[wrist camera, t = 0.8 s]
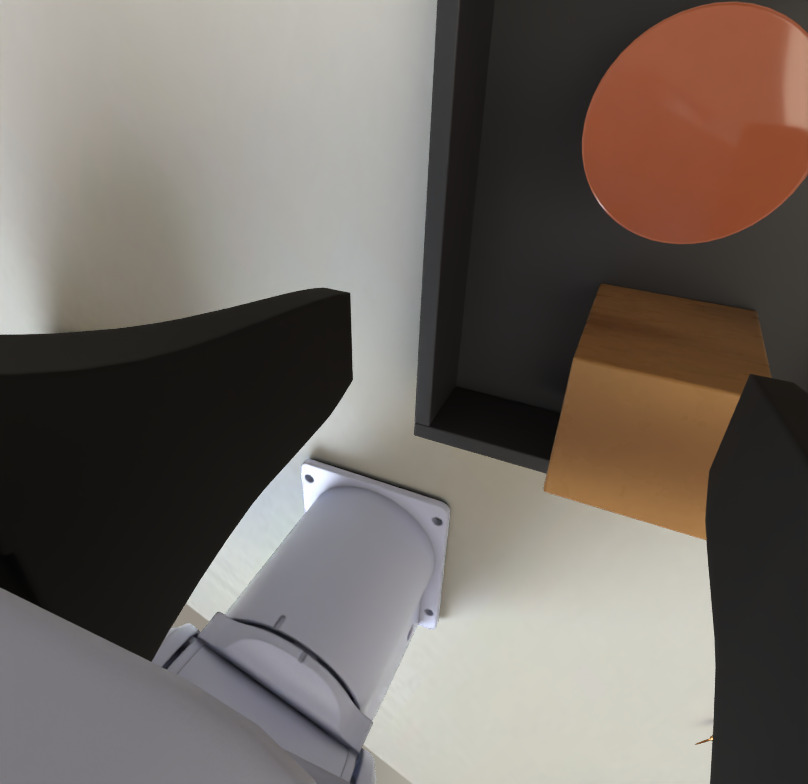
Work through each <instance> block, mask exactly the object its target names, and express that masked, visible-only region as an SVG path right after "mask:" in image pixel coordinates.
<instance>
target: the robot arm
mask: <svg viewBox="0 0 808 784" xmlns="http://www.w3.org/2000/svg"><path fill="white" fill-rule="evenodd" d="M352 380H353V371H352V337H351V303H350V293H348V292H343V291H338V290H333V289H328V288H313V289H307V290H301V291H296V292H292V293H287V294H283V295H279V296H275V297H271V298H267V299H263V300H259V301H255V302H251V303H247V304H243V305H239V306H235V307H231V308H227V309H222V310H218V311H213V312H209V313H204V314H200V315H195V316H191V317H186V318H182V319H176V320H171V321H166V322H160V323H154V324H147V325H140V326H133V327H126V328H117V329H107V330H94V331H82V332H69V333H56V334H27V335H0V784H377V780H376V774H375V761H374V757H373V756H372V754H371V753H370V752H368V751H366V750H364V749H362V746H363V744H364V742H365V740H366V737H367V735H368V733H369V731H370V729H371V727H372V724H373V722H372V720H373V719H374V717H375V715H376V714H377V712H378V710H379V708H380V706H381V703H382V701H383V699H384V697H385V695H386V692H387V690H388V688H389V686H390V684H391V682H392V679H393V677H394V675H395V673H396V671H397V669H398V666H399V664H400V662H401V660H402V658H403V656H404V653H405V651H406V649H407V647H408V645H409V643H410V640H411V638H412V636H413V634H414V632H415V629H416V627H417V625H420V626H423V627H425V628H428V629H435V628H436V626H437V624H438V621H439V611H440V602H441V593H442V584H443V575H444V566H445V557H446V548H447V538H448V529H449V520H450V509H449V507H448V506H447V505H446V504H445V503H443V502H441V501H438V500H435V499H432V498H429V497H426V496H423V495H420V494H417V493H413V492H410V491H407V490H404V489H401V488H398V487H395V486H392V485H389V484H386V483H383V482H379V481H376V480H373V479H370V478H367V477H364V476H361V475H358V474H355V473H352V472H349V471H345V470H342V469H339V468H336V467H333V466H330V465H327V464H324V463H321V462H318V461H315V460H311V459H307V460H305V461H304V463H303V464H302V465H301V476H302V487H303V498H304V509H305V514H304V515H303V517H302V518H301V519H300V520H299V522H298V523H297V524H296V525H295V527H294V528H293V529H292V530H291V532H290V533H289V534H288V535H287V537H286V538H285V539H284V540H283V542H282V543H281V544H280V546H279V547H278V548H277V549H276V551H275V552H274V553H273V554H272V556H271V557H270V558H269V559H268V561H267V562H266V563H265V564H264V566H263V567H262V568H261V569H260V571H259V572H258V573H257V574H256V576H255V577H254V578H253V579H252V581H251V582H250V583H249V585H248V586H247V587H246V588H245V590H244V591H243V592H242V593H241V595H240V596H239V597H238V598H237V600H236V601H235V602H234V603H233V605H232V606H231V607H230V608H229V610H228V611H227V612H226V613H225V615H224V614H223V613H221V612H217V613H216V614H215V615H214V617H213V618H212V619H211V620H210V621H209V623H208V624H207V625H206V626H205V628H204V629H203V630H202V631H201V632H200V631H199V630H198V629H197V628H196V627H194V626H193V625H192V624H189V623H187V624H184V625H182V626H180V627H175V628H171V626H172V625H173V623H174V622H175V620H176V618H177V617H178V615H179V613H180V612H181V610H182V609H183V607H184V605H185V604H186V602H187V600H188V599H189V597H190V596H191V594H192V592H193V591H194V589H195V587H196V586H197V584H198V582H199V581H200V579H201V578H202V576H203V575H204V573H205V572H206V570H207V569H208V567H209V566H210V564H211V563H212V561H213V560H214V558H215V557H216V555H217V554H218V552H219V551H220V549H221V548H222V546H223V545H224V543H225V542H226V540H227V539H228V537H229V536H230V534H231V533H232V532H233V530H234V529H235V527H236V526H237V525H238V523H239V522H240V520H241V519H242V518H243V516H244V515H245V513H246V512H247V511H248V509H249V508H250V506H251V505H252V504H253V502H254V501H255V500H256V499H257V498H258V496H259V495H260V494H261V493H262V491H263V490H264V489H265V488H266V487H267V485H268V484H269V483H270V482H271V481H272V480H273V479H274V478H275V477H276V476H277V474H278V473H279V472H280V471H281V470H282V469H283V468H284V467H285V466H286V464H287V463H288V462H289V461H290V460H291V459H292V458H293V457H294V456H295V455H296V453H297V452H298V451H299V450H300V449H301V448H302V447H303V446H304V445H305V443H306V442H307V441H308V440H309V439H310V438H311V437H312V436H313V434H314V433H315V432H316V431H317V430H318V429H319V428H320V427H321V425H322V424H323V423H324V422H325V421H326V420H327V418H328V417H329V416H330V415H331V413H332V412H333V410H334V409H335V407H336V406H337V404H338V403H339V401H340V400H341V398H342V397H343V395H344V394H345V392H346V390H347V389H348V387H349V385H350V384H351V382H352ZM436 517H438V518H439V519H441V520H439V519H437V518H436ZM705 526H706V540H707V553H708V566H709V577H710V589H711V601H712V613H713V624H714V636H715V662H716V672H715V698H714V725H713V743H712V761H711V778H710V784H808V393H807V392H805V391H804V390H803V389H802V388H800V387H799V386H798V385H796V384H795V383H793V382H789V381H784V380H779V379H774V378H769V377H764V376H759V375H754V374H750V375H749V377H748V380H747V382H746V384H745V387H744V389H743V392H742V394H741V396H740V399H739V401H738V403H737V406H736V408H735V411H734V413H733V415H732V418H731V420H730V422H729V425H728V427H727V430H726V432H725V434H724V437H723V439H722V442H721V444H720V446H719V449H718V451H717V453H716V456H715V458H714V461H713V463H712V465H711V468H710V470H709V478H708V489H707V500H706V516H705ZM170 628H171V629H170Z"/></svg>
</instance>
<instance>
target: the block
mask: <svg viewBox="0 0 808 784" xmlns="http://www.w3.org/2000/svg"><path fill="white" fill-rule="evenodd" d="M750 374H754V375H759V376H764V377H769V378H772V377H771V373H770V368H769V363H768V359H767V354H766V350H765V345H764V340H763V336H762V331H761V327H760V322H759V317H758V313H757V312H756V311H752V310H747V309H741V308H736V307H730V306H724V305H719V304H713V303H708V302H702V301H697V300H691V299H686V298H680V297H675V296H669V295H663V294H658V293H652V292H647V291H641V290H636V289H630V288H625V287H619V286H613V285H608V284H600V286H599V288H598V291H597V294H596V297H595V299H594V302H593V305H592V308H591V310H590V313H589V316H588V319H587V322H586V324H585V327H584V330H583V333H582V335H581V338H580V341H579V344H578V346H577V349H576V352H575V355H574V357H573V361H572V365H571V369H570V374H569V378H568V383H567V387H566V391H565V396H564V400H563V404H562V409H561V413H560V417H559V422H558V426H557V431H556V435H555V439H554V444H553V448H552V452H551V457H550V461H549V465H548V470H547V474H546V479H545V483H544V487H543V489H544V491H545V492H547V493H550V494H554V495H557V496H560V497H564V498H567V499H570V500H574V501H577V502H580V503H584V504H587V505H590V506H594V507H597V508H600V509H604V510H607V511H610V512H614V513H617V514H620V515H624V516H627V517H630V518H634V519H637V520H640V521H644V522H647V523H650V524H654V525H657V526H660V527H664V528H667V529H670V530H674V531H677V532H680V533H684V534H687V535H690V536H694V537H697V538H700V539H704V540H706V526H705V516H706V500H707V489H708V478H709V470H710V468H711V465H712V463H713V461H714V458H715V456H716V453H717V451H718V449H719V446H720V444H721V442H722V439H723V437H724V434H725V432H726V430H727V427H728V425H729V422H730V420H731V418H732V415H733V413H734V411H735V408H736V406H737V403H738V401H739V399H740V396H741V394H742V392H743V389H744V387H745V384H746V382H747V380H748V377H749V375H750Z"/></svg>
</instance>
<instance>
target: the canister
mask: <svg viewBox="0 0 808 784" xmlns="http://www.w3.org/2000/svg"><path fill="white" fill-rule="evenodd" d="M582 159H583V167H584V171H585V175H586V178H587V181H588V184H589V186H590V189H591V191H592V193H593V195H594V196H595V198H596V200H597V202H598V203H599V205H600V206H601V207H602V208H603V209H604V211H605V212H606V213H607V214H608V215H609V216H610V217H611V218H612V219H613V220H614V221H615V222H616V223H618V224H619V225H621V226H622V227H624V228H625V229H626V230H628V231H630V232H632V233H634V234H636V235H638V236H641V237H644V238H646V239H649V240H653V241H657V242H662V243H669V244H697V243H704V242H710V241H714V240H717V239H721V238H725V237H727V236H730V235H733V234H735V233H738V232H740V231H742V230H744V229H746V228H748V227H750V226H752V225H754V224H756V223H757V222H759V221H760V220H762V219H763V218H765V217H767V216H768V215H769V214H771V213H772V212H773V211H774V210H776V209H777V208H778V207H779V206H781V205H782V204H783V203H784V202H785V201H786V200H787V199H788V198H789V197H790V196H791V195H792V194H793V193H794V192H795V191H796V189H797V188H798V187H799V186H800V185H801V183H802V182H803V181H804V180H805V178H806V177H807V175H808V32H807V31H806V30H805V29H804V28H803V27H802V26H801V25H800V24H798V23H797V22H796V21H794V20H793V19H791V18H790V17H788V16H787V15H785V14H783V13H781V12H779V11H776V10H774V9H772V8H770V7H766V6H762V5H758V4H755V3H747V2H737V1H731V2H715V3H710V4H704V5H699V6H696V7H693V8H690V9H686V10H683V11H681V12H678V13H676V14H674V15H672V16H670V17H667V18H665V19H664V20H662V21H660V22H659V23H657V24H655V25H654V26H652V27H650V28H649V29H648V30H646V31H645V32H644V33H642V34H641V35H640V36H638V37H637V38H636V39H635V40H634V41H632V42H631V43H630V44H629V45H628V46H627V47H626V48H625V49H624V50H623V51H622V52H621V53H620V54H619V56H618V57H617V58H616V59H615V60H614V62H613V63H612V64H611V65H610V67H609V68H608V70H607V71H606V73H605V74H604V76H603V77H602V79H601V80H600V82H599V84H598V86H597V88H596V90H595V92H594V94H593V96H592V99H591V102H590V104H589V107H588V110H587V114H586V118H585V122H584V127H583V134H582Z"/></svg>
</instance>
